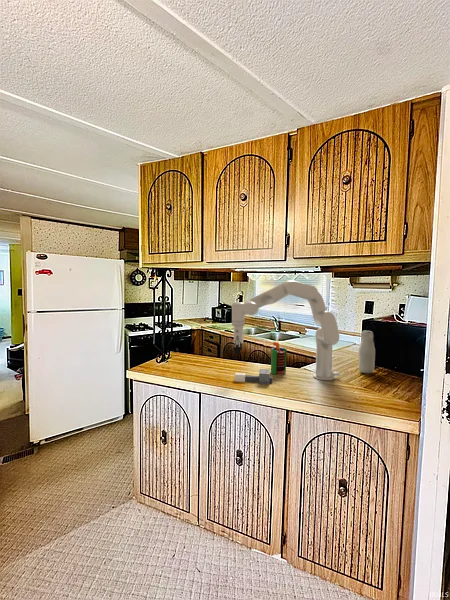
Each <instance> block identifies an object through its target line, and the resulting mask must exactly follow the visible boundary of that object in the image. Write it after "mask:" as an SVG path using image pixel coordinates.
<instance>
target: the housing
mask: <svg viewBox="0 0 450 600" xmlns="http://www.w3.org/2000/svg"><path fill="white" fill-rule="evenodd" d="M270 375H271V368H270V369H269V368H259V372H258V376H259V382H258V385H269V386H270V383H269V381H270Z"/></svg>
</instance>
